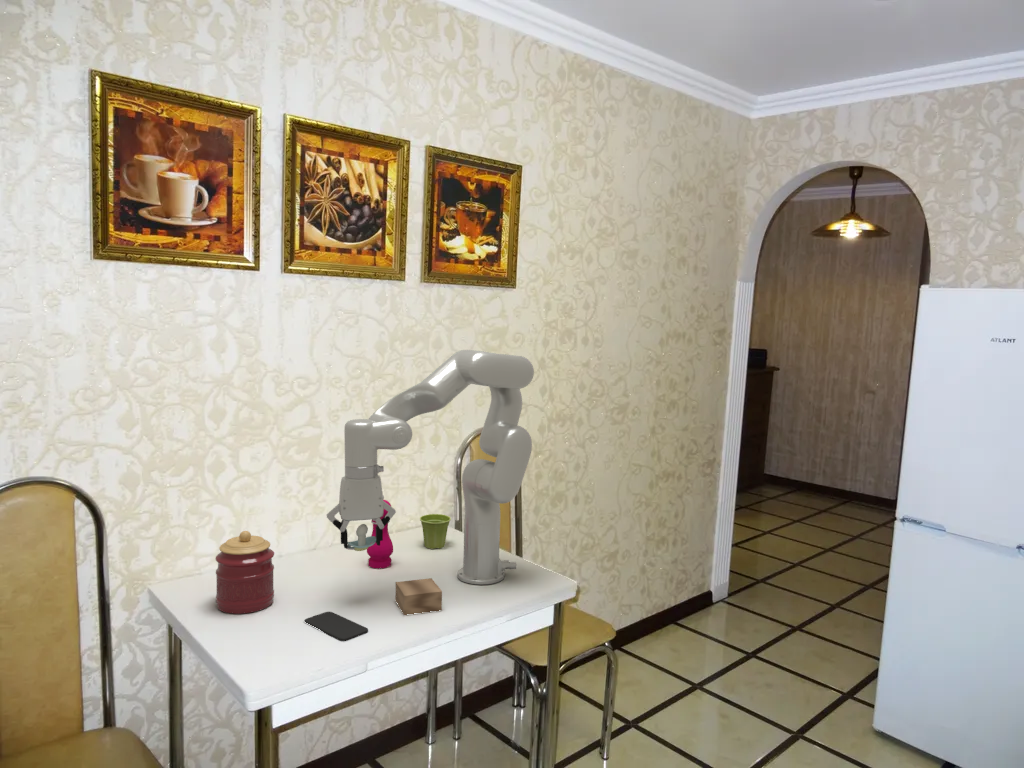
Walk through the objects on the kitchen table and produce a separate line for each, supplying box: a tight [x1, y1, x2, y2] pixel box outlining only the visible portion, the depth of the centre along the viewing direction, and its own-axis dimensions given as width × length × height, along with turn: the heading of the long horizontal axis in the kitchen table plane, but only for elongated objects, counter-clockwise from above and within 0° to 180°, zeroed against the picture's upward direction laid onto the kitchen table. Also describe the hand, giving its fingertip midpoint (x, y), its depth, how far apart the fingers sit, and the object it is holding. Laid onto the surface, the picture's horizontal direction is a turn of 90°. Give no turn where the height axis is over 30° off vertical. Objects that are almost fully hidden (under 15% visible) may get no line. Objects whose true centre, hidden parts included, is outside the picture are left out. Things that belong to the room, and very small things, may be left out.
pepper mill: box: [366, 495, 394, 570], centre depth 199 cm, size 7×7×20 cm
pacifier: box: [345, 523, 376, 552], centre depth 172 cm, size 7×6×6 cm
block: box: [394, 577, 443, 616], centre depth 172 cm, size 9×9×5 cm
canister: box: [215, 530, 275, 615], centre depth 170 cm, size 13×13×18 cm
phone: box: [304, 611, 369, 642], centre depth 160 cm, size 7×1×15 cm
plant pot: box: [419, 513, 452, 550], centre depth 217 cm, size 9×9×9 cm
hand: (361, 544), depth 172 cm, fingers closed on pacifier, 7 cm apart
